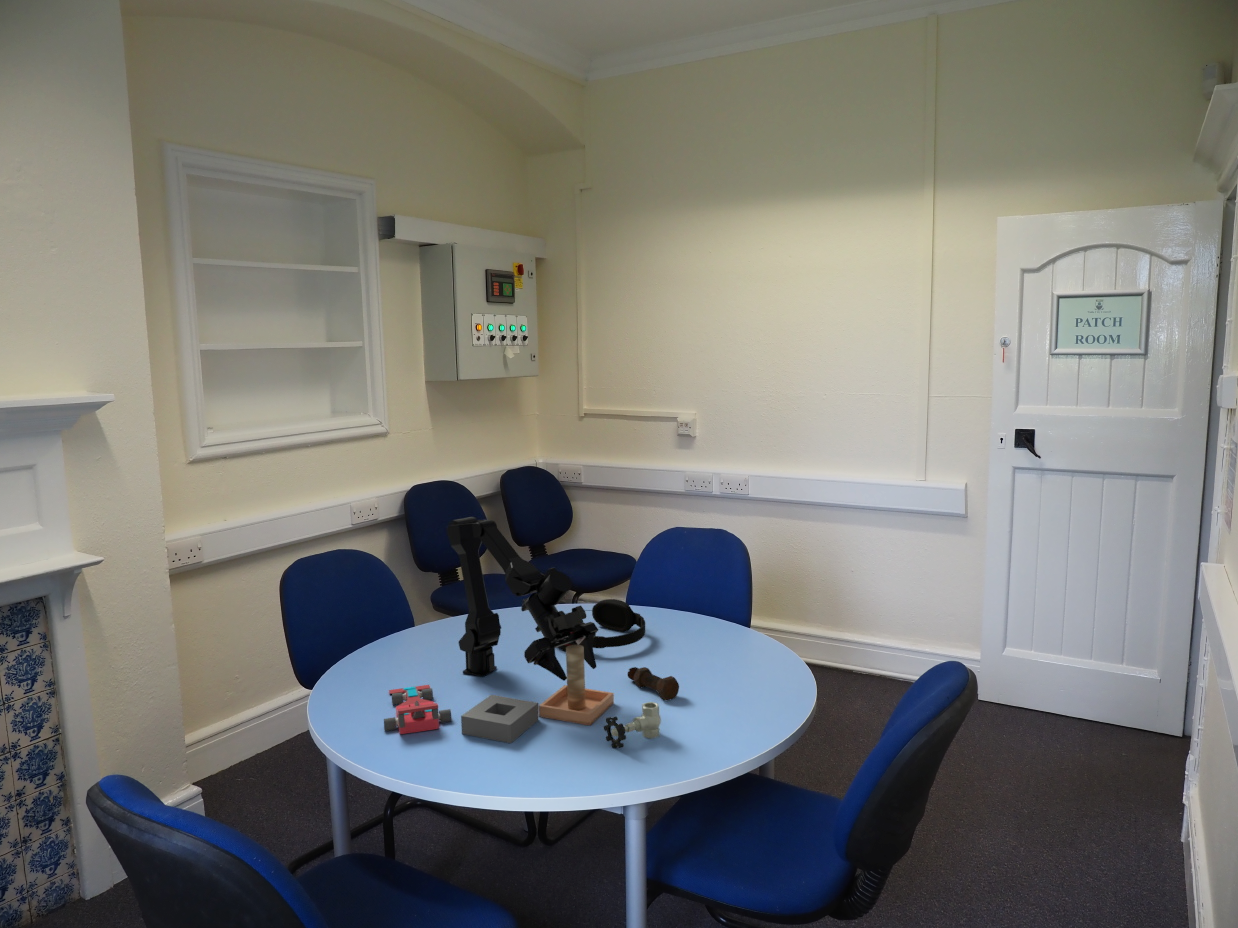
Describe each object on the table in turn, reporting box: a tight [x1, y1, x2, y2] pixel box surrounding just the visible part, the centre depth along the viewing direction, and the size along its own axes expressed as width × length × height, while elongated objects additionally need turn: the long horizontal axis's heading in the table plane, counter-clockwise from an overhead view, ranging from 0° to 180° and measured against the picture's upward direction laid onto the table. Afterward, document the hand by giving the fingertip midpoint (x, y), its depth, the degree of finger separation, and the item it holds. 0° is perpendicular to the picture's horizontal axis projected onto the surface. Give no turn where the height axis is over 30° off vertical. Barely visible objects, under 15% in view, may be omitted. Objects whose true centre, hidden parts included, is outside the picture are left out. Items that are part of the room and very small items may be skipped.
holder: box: [460, 694, 539, 744], centre depth 181 cm, size 12×12×4 cm
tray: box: [538, 684, 615, 726], centre depth 190 cm, size 13×13×2 cm
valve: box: [603, 701, 662, 749], centre depth 174 cm, size 7×7×12 cm
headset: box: [558, 598, 646, 653], centre depth 237 cm, size 28×26×9 cm
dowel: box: [565, 645, 586, 711], centre depth 189 cm, size 4×4×14 cm
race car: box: [383, 684, 452, 735], centre depth 191 cm, size 14×6×25 cm
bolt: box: [627, 666, 680, 701], centre depth 201 cm, size 6×5×15 cm
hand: (580, 673), depth 188 cm, fingers open, 9 cm apart
